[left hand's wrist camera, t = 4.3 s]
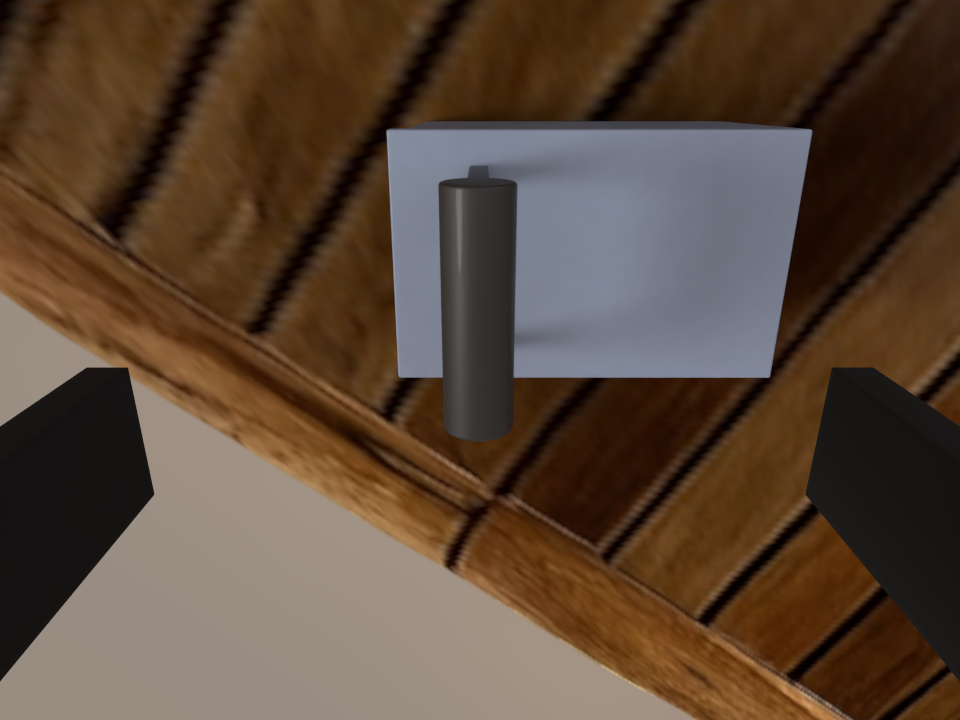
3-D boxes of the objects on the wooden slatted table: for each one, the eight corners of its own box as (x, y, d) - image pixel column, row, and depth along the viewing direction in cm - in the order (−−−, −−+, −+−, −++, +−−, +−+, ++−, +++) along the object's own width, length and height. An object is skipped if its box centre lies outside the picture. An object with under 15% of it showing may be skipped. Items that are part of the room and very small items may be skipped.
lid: (400, 370, 28) (369, 474, 20) (389, 128, 25) (346, 141, 17) (762, 370, 28) (870, 474, 20) (802, 128, 25) (952, 141, 17)
